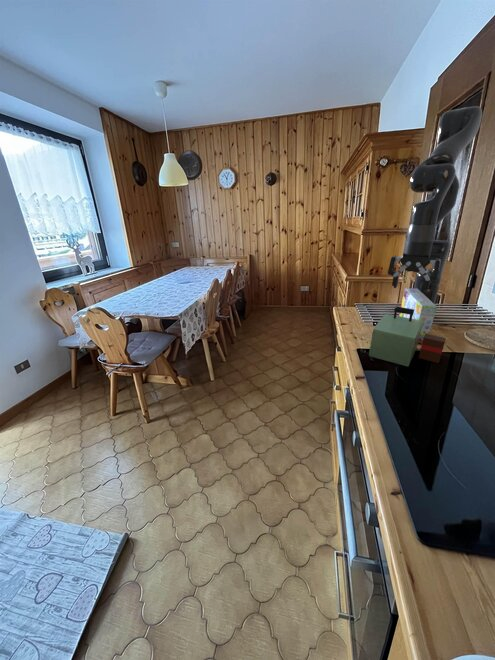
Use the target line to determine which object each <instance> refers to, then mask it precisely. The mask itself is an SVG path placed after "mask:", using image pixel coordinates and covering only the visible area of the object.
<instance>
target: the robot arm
mask: <svg viewBox="0 0 495 660" xmlns="http://www.w3.org/2000/svg"><path fill="white" fill-rule="evenodd" d="M482 119H483V109H482V108H481V106H478V105H475V106H468V107H467V106H466V107H461V108H457V109H451V110H447V111H444V113H443V114H442V116H441V117H440V120H439V123H438V129H437V136H436V144H435V147H434V149H433V151H432V152H431V154H430V155H429V157H427V158H426V159H425V160H423V161H422V162H421V163H420V164H418V165H417V167H416V168H415V169H414V171H413V172H412V174H411V176H410V179H409V187H410V190H411V191H412V192H414V193H417V194H422V193H427V198H426V200H423V201H422V200H421V201H419V202H416V203H414V204H413V206H412V208H411V214H410V217H409V224H408V227H407V230H406V235H405V239H404V240H405V241H404V246H403V251H402V256H397V255H392V257H391V258H390V260H389V266H388V269H387V275H389V276H391V277H392V283H391V286H392V287H393V289H397V287H398V285H399V284H398V283H399V279H400V276H399V275H400V274H402V273H403V272H404V271H406V272H410V273H411V272H414V273H416V274H415V279H414V283H413V287H412V289H418V290H419V291H421V292H422V293H423V294H424V295H425V296H426V297H427V298H428V299H429V300H430V301H431V302H433V303H434V304H435V305H436V301H437V297H438V293H439V289H440V286H441V282H442V277H443V274H444V270H445V266H446V262H447V259H448V257H449V253H450V251H451V250H450V249H451V242H450V241H449V240H443V239H442V240H441V239H435V235H436V231H437V230H436V229H437V227H438V225H439V224H440V223H441V222H442V221H443V220H444V219H445V218H446V217H447V216H448V215H449V213H451V212H452V210H453V209H454V207H455V206H456V203H457V199H458V194H459V191H460V181H459V178H458V176H457V174H456V167H455V163H456V161H457V159H458V158H459V156H460V154H461V153H462V151H464V149H466V147H467V146H468V145H469V144H470V143H471V142H472V141H473V140H474V138H475V137H476V135H477V133H478V132H479V130H480V127H481V123H482ZM399 262H400V263H401V267H400V268H399V269H397V271H395V266H396V264H398V263H399ZM428 265H431V267H430V268H427V267H428Z"/></svg>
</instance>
